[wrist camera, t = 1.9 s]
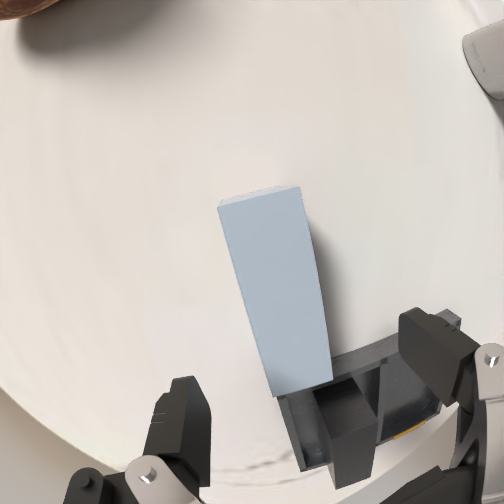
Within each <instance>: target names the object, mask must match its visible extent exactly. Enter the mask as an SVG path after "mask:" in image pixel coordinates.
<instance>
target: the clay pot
mask: <svg viewBox="0 0 504 504" xmlns="http://www.w3.org/2000/svg"><path fill="white" fill-rule="evenodd" d="M58 1H59V0H0V21H1V20H10V19H16V18H21V17H25V16H28V15H31V14H33V13H36V12H38V11H40V10H43V9H45V8H47V7H49V6H51V5H52V4H54V3H56V2H58Z"/></svg>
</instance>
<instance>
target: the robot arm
mask: <svg viewBox="0 0 504 504" xmlns="http://www.w3.org/2000/svg"><path fill="white" fill-rule="evenodd" d="M463 49H464V53H465V56H466V58H467V61H468V63H469V65H470V68H471V70H472V71H473V73H474V75H475V77H476V78H477V80H478V82H479V83H480V84H481V86H482V87H483V88H484V90H485V91H486V92H487V93H488V94H489V95H490V96H491V97H493V98H495V99H497V100H501V99H504V19H503V20H500V21H498V22H495V23H493V24H490V25H488V26H486V27H483V28H481V29H479V30H476V31H474V32H472V33H470V34H468V35H466V36H464V38H463ZM398 349H399V353H400V356H401V357H402V359H403V360H404V361H405V362H406V363H407V364H408V365H409V367H410V368H411V369H412V370H413V371H414V372H415V373H416V374H417V375H418V376H419V377H420V378H421V379H422V381H423V382H424V383H425V384H426V385H427V386H428V387H429V388H430V389H431V390H432V392H433V393H434V394H435V395H436V396H437V397H438V398H439V399H440V400H441V402H442V403H443V404H444V405H445V406H446V407H449V406H450V405H452V404H453V403H454V402H456V401H457V402H458V403H459V407H458V417H457V434H456V444H455V451H454V454H453V457H452V460H451V463H450V466H449V469H447V470H443V471H441V469H440V468H439V466H436V467H434V468H433V469H431V470H429V471H428V472H426V473H424V474H423V475H421V476H419V477H417V478H415V479H414V480H412V481H410V482H408V483H406V484H405V485H404V486H403V487H401V488H400V489H399V490H397V491H396V492H395V493H393V494H392V495H391V496H389V497H388V498H387V499H385V500H384V501H382V502H381V503H380V504H504V347H503V346H501V345H499V344H496V343H488V344H484V345H482V346H481V345H479V344H478V343H477V342H475V341H474V340H473V339H471V338H470V337H469V336H467V335H466V334H464V333H463V332H462V331H460V330H459V329H457V328H456V327H455V326H453V325H452V324H451V325H450V323H449V322H448V321H446V320H445V319H443V318H442V317H439V316H436V315H432V314H429V315H428V314H427V313H425V312H424V311H423V310H421V309H420V308H418V307H415V308H413V309H411V310H409V311H406V312H404V313H402V314H400V316H399V331H398ZM153 414H154V415H153V416H152V420H151V424H150V427H149V431H148V435H147V439H146V443H145V447H144V451H143V455H142V456H141V457H138V458H136V459H135V460H133V461H132V462H131V463H130V464H129V465H128V467H127V468H126V471H125V472H121V473H117V474H112V475H106V476H103V475H102V474H101V473H100V472H99V471H98V470H96V469H94V468H83V469H80V470H78V471H77V472H76V473H74V475H73V476H72V478H71V480H70V482H69V486H68V489H67V492H66V496H65V499H64V502H63V504H206V503H205V502H204V501H203V500H202V499H201V498H200V497H199V487H210V452H211V411H210V407H209V404H208V402H207V400H206V398H205V396H204V394H203V392H202V390H201V388H200V386H199V384H198V382H197V380H196V378H195V377H194V376H187V377H181V378H175V379H173V380H172V384H171V388H170V392H169V393H163V395H162V396H161V397H160V398H159V400H158V401H157V402H156V405H155V409H154V412H153Z"/></svg>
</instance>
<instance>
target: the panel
mask: <svg viewBox="0 0 504 504" xmlns="http://www.w3.org/2000/svg"><path fill="white" fill-rule="evenodd" d="M217 209H218V213H219V217H220V220H221V224H222V228H223V231H224V235H225V239H226V242H227V246H228V249H229V253H230V256H231V260H232V263H233V267H234V270H235V274H236V277H237V281H238V284H239V288H240V291H241V295H242V298H243V301H244V305H245V308H246V312H247V315H248V318H249V322H250V325H251V328H252V332H253V335H254V338H255V341H256V345H257V348H258V351H259V355H260V358H261V361H262V364H263V367H264V371H265V374H266V377H267V380H268V383H269V387H270V390H271V393H272V396H273V397H277V396H281V395H285V394H288V393H292V392H296V391H299V390H303V389H306V388H309V387H313V386H316V385H319V384H322V383H325V382H328V381H331V380H333V373H332V365H331V357H330V349H329V341H328V334H327V327H326V321H325V314H324V308H323V301H322V295H321V289H320V284H319V278H318V272H317V267H316V262H315V256H314V251H313V246H312V241H311V236H310V231H309V226H308V222H307V217H306V213H305V208H304V204H303V199H302V195H301V190H300V187H299V186H275V187H271V188H267V189H263V190H259V191H255V192H251V193H247V194H243V195H239V196H235V197H232V198H228V199H224V200H222V201H221V202H220V203H219V205H218V206H217Z"/></svg>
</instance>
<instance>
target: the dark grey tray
mask: <svg viewBox="0 0 504 504" xmlns="http://www.w3.org/2000/svg"><path fill="white" fill-rule="evenodd" d="M436 316H439V317H442V318H443V319H445V320H446V321H448V322H449V323H450V325H451V324H452V325H453V326H455V327H456V328H457V329H459V330H460V325H461V318H460V317H459V316H457V315H456V314H454V313H453V312H451V311H450V310H448V309H446V310H444V311H442V312H440V313H438V314H436ZM331 365H332V373H333V380H331V381H328V382H325V383H322V384H319V385H316V386H313V387H309V388H306V389H303V390H299V391H296V392H292V393H288V394H285V395H281V396H277V400H278V403H279V406H280V409H281V412H282V416H283V419H284V422H285V425H286V428H287V431H288V434H289V438H290V441H291V444H292V447H293V450H294V453H295V456H296V459H297V462H298V465H299V468H300V471H301V472H304V471H307V470H311V469H315V468H318V467H321V466H325V465H327V466H328V469H329V472H330V475H331V477H332V480H333V483H334V486H335V489H339V488H342V487H345V486H348V485H351V484H354V483H356V482H359V481H362V480H364V479H367V478H369V477H370V476H371V471H372V465H373V460H374V454H375V447H376V446H378V445H381V444H383V443H385V442H387V441H389V440H391V439H393V440H394V439H396V438H398V437H400V436H402V435H404V434H406V433H408V432H410V431H412V430H414V429H416V428H417V427H419V426H421V425H423V424H425V422H426V421H428V420H429V419H431V418H433V417H434V416H436V415H438V414H439V413H440V410H441V407H442V404H443V403H442V402H441V400H440V399H439V398H438V397H437V396H436V395H435V394H434V393H433V392H432V390H431V389H430V388H429V387H428V386H427V385H426V384H425V383H424V382H423V381H422V379H421V378H420V377H419V376H418V375H417V374H416V373H415V372H414V371H413V370H412V369H411V368H410V367H409V365H408V364H407V363H406V362H405V361H404V360H403V359H402V357H401V356H400V353H399V349H398V333H396V334H394V335H391V336H389V337H387V338H384V339H382V340H380V341H377V342H375V343H372V344H370V345H367V346H365V347H362V348H359V349H357V350H354V351H351V352H349V353H346V354H343V355H340V356H337V357H334V358H331Z"/></svg>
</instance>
